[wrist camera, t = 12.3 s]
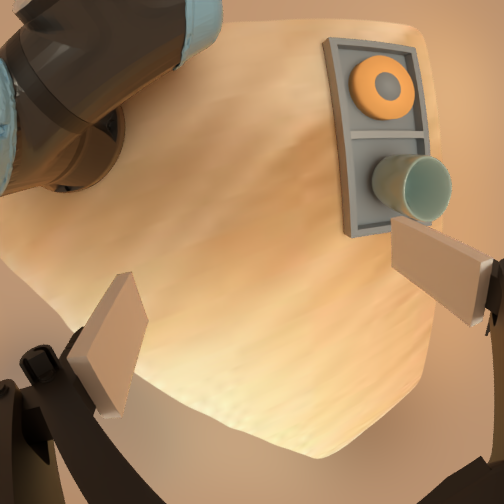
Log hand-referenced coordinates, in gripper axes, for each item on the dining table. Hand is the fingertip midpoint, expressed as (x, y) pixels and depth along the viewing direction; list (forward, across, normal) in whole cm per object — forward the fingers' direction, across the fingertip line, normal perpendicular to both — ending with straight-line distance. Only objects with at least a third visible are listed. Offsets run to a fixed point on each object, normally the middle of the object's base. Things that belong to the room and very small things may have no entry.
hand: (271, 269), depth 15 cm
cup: (+25, +22, -2) cm, 33 cm away
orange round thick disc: (+26, +22, +12) cm, 36 cm away
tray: (+26, +22, +5) cm, 34 cm away
